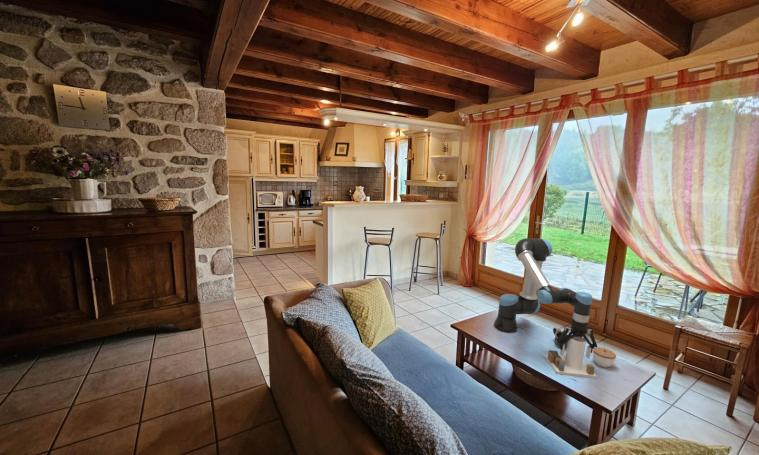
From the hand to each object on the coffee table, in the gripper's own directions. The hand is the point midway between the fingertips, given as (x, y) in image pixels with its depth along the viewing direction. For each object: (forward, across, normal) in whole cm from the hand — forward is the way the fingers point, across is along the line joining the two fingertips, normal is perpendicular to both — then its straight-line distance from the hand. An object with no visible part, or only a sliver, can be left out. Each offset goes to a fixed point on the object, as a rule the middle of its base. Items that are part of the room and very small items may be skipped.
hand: (574, 356), depth 178 cm
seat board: (+7, -2, 0) cm, 7 cm away
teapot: (+7, +3, +25) cm, 26 cm away
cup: (+6, 0, 0) cm, 6 cm away
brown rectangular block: (+5, -9, 0) cm, 10 cm away
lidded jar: (+7, +19, +7) cm, 21 cm away
